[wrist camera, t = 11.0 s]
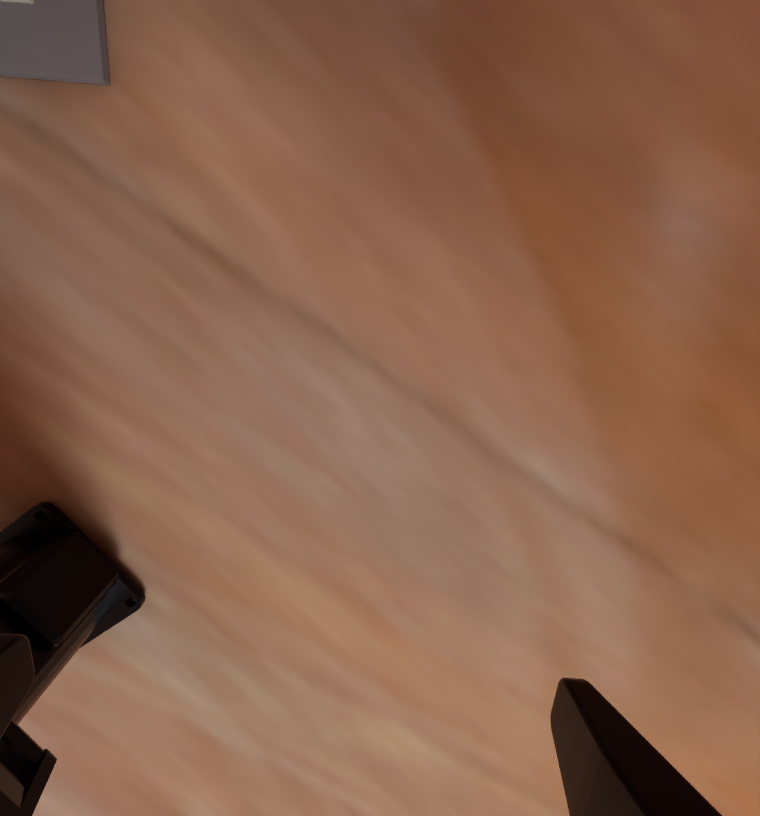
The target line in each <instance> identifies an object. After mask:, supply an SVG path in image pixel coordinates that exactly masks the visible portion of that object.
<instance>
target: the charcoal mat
mask: <svg viewBox="0 0 760 816" xmlns="http://www.w3.org/2000/svg"><path fill="white" fill-rule="evenodd" d="M0 76H6V77H18V78H30V79H42V80H54V81H66V82H78V83H90V84H102V85H110V76H109V65H108V53H107V41H106V29H105V17H104V5H103V0H34V4H30V3H18V2H5V1H0Z"/></svg>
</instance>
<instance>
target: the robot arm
mask: <svg viewBox="0 0 760 816" xmlns="http://www.w3.org/2000/svg"><path fill="white" fill-rule="evenodd" d="M42 512H44V513H45V514H46V516H45V515H43V513H42ZM130 598H132V599H134V600H135V601H133V600H131V599H130ZM144 602H145V594H144V593H143V592H142V591H141V590H140V589H139V588H138V587H137V586H136V585H135V584H134V583H133V582H132V581H131V580H130V579H129V578H128V577H127V576H126V575H125V574H124V573H123V572H122V571H121V570H120V569H119V568H118V567H117V566H116V565H115V564H114V563H113V562H112V561H111V560H110V559H109V558H108V557H107V556H106V555H105V554H104V553H103V552H102V551H101V550H100V549H99V548H98V547H97V546H96V545H94V544H93V543H92V542H91V541H90V540H89V539H88V538H87V537H86V536H85V535H84V534H83V533H82V532H81V531H80V530H79V529H78V528H77V527H76V526H75V525H74V524H73V523H72V522H71V521H70V520H69V519H68V518H67V517H66V516H65V515H64V514H63V513H62V512H61V511H60V510H59V509H58V508H57V507H56V506H55V505H53V504H52V503H49V502H41V503H39V504H37V505H36V506H34V507H33V508H32V509H30V510H29V511H28V512H26V513H25V514H24V515H22V516H21V517H20V518H18V519H17V520H16V521H14V522H13V523H12V524H11V525H9V526H8V527H7V528H5V529H4V530H3V531H1V532H0V816H32V814H33V812H34V810H35V808H36V805H37V803H38V801H39V799H40V796H41V794H42V792H43V790H44V788H45V785H46V783H47V781H48V779H49V776H50V774H51V772H52V770H53V767H54V765H55V763H56V760H57V758H56V757H55V756H54V755H53V754H52V753H51V752H50V751H49V750H48V749H44V750H43V749H42V748H41V747H40V746H39V745H38V744H37V743H36V742H35V741H34V740H33V739H32V738H31V737H30V736H29V735H28V734H27V733H26V732H25V731H24V730H23V729H22V728H21V727H20V726H19V725H18V723H19V722H20V721H21V720H22V718H23V717H24V716H25V715H26V713H27V712H28V711H29V710H30V708H31V707H32V706H33V705H34V704H35V702H36V701H37V700H38V699H39V697H40V696H41V695H42V694H43V692H44V691H45V690H46V689H47V687H48V686H49V685H50V684H51V682H52V681H53V680H54V679H55V677H56V676H57V675H58V674H59V673H60V671H61V670H62V669H63V668H64V666H65V665H66V664H67V663H68V661H69V660H70V659H71V658H72V656H73V655H74V654H75V653H76V651H77V650H78V649H79V648H80V647H82V646H83V645H85V644H87V643H88V642H90V641H91V640H93V639H94V638H96V637H97V636H99V635H100V634H102V633H103V632H105V631H106V630H108V629H109V628H111V627H113V626H114V625H116V624H117V623H119V622H120V621H122V620H123V619H125V618H126V617H128V616H129V615H131V614H132V613H134V612H135V611H137V610H138V609H139V608H140V607H141V606H142V604H143V603H144ZM551 729H552V734H553V739H554V744H555V748H556V753H557V758H558V762H559V767H560V772H561V776H562V781H563V786H564V790H565V795H566V800H567V804H568V809H569V814H570V816H722V815H721V814H720V813H719V812H718V811H717V810H716V809H715V808H714V807H713V806H712V805H711V804H710V803H709V802H708V801H707V800H706V799H705V798H704V797H703V796H702V795H701V794H700V793H699V792H698V791H697V790H696V789H695V788H694V787H693V786H692V785H691V784H690V783H689V782H688V781H687V780H686V779H685V778H684V777H683V776H682V775H681V774H680V773H679V772H678V771H677V770H676V769H675V768H674V767H673V766H672V765H671V764H670V763H669V762H668V761H667V760H666V759H665V758H664V757H663V756H662V755H661V754H660V753H659V752H658V751H657V750H656V749H655V748H654V747H653V746H652V745H651V744H650V743H649V742H648V741H647V740H646V739H645V738H644V737H643V736H642V735H641V734H640V733H639V732H638V731H637V730H636V729H635V728H634V727H633V726H632V725H631V724H630V723H629V722H628V721H627V720H626V719H625V718H624V717H623V716H622V715H621V714H620V713H619V712H618V711H617V710H616V709H615V708H614V707H613V706H612V705H611V704H610V703H609V702H608V701H607V700H606V699H605V698H604V697H603V696H602V695H601V694H600V693H599V692H598V691H597V690H596V689H595V688H594V687H593V686H592V685H591V684H590V683H589V682H588V681H586V680H584V679H576V678H562V679H561V680H560V681H559V683H558V687H557V691H556V695H555V699H554V703H553V707H552V711H551Z"/></svg>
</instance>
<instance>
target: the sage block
mask: <svg viewBox="0 0 760 816" xmlns="http://www.w3.org/2000/svg"><path fill="white" fill-rule="evenodd" d="M0 1H5V2H18V3H30V4H34V0H0Z"/></svg>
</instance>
